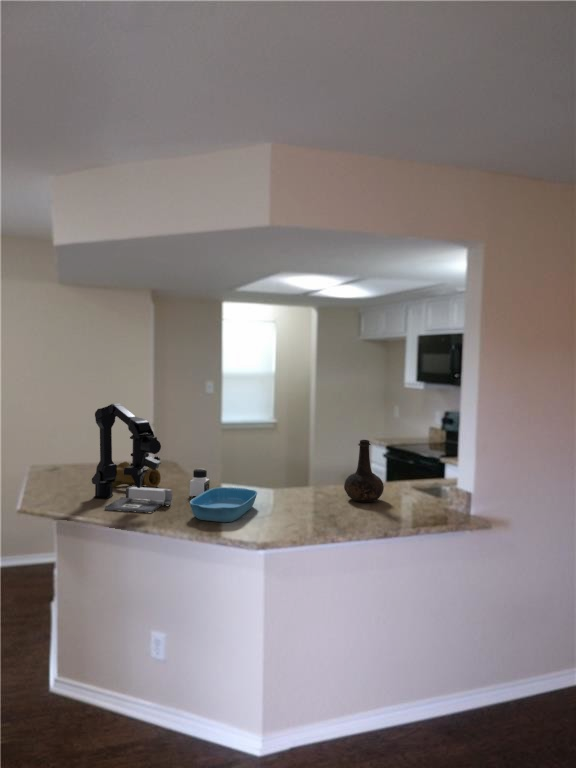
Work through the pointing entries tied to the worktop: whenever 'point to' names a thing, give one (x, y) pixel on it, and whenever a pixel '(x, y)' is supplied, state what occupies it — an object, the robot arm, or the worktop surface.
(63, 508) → the worktop surface
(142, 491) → the swing arm
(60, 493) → the worktop surface
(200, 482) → the medicine bottle
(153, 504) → the label board
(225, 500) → the casserole dish
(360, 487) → the glass bottle
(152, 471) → the brown looped sculpture
